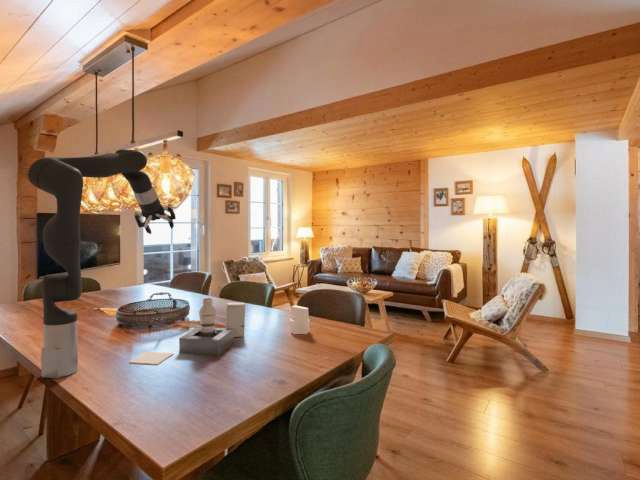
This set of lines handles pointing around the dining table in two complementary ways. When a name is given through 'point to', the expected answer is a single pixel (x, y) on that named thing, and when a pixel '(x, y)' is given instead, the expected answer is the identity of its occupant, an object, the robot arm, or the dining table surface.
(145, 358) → the rubber mat
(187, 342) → the housing block
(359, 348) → the dining table surface
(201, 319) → the plastic bottle
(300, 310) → the cylinder with rectangular tab
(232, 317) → the skincare box
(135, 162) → the robot arm
